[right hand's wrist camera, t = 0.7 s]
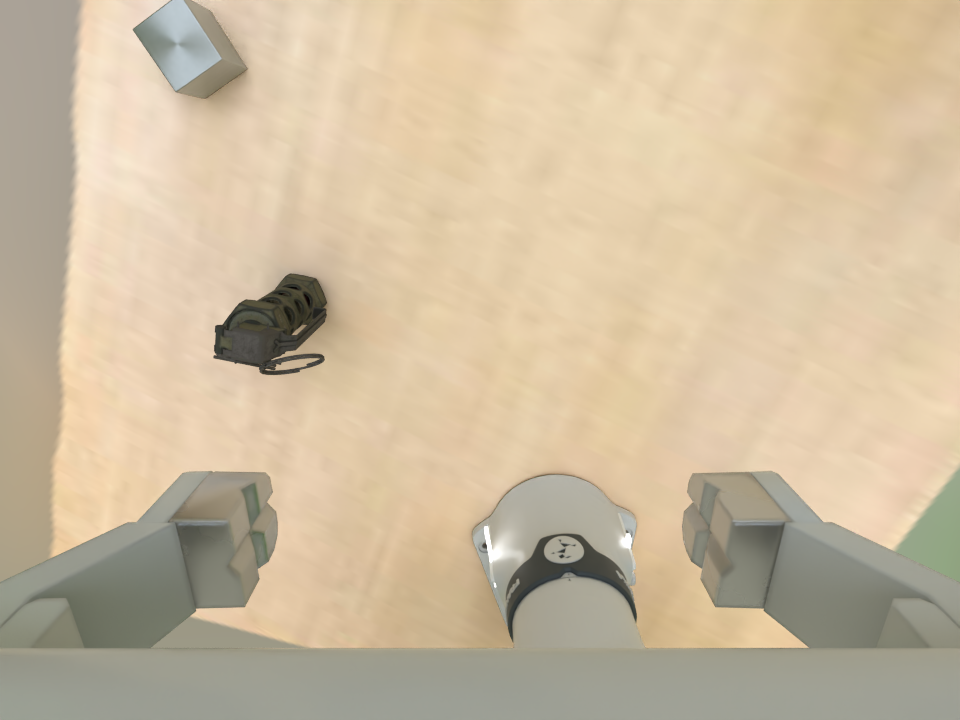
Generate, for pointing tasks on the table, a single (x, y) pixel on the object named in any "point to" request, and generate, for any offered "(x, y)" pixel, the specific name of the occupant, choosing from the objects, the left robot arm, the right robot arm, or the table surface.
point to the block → (190, 48)
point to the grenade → (273, 326)
